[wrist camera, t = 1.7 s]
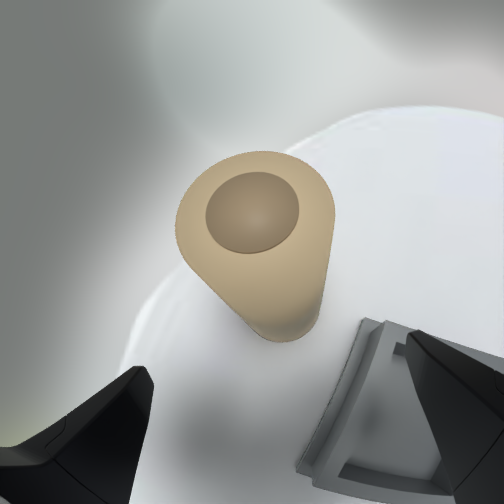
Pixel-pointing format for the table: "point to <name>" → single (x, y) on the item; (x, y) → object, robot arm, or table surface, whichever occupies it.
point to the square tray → (380, 426)
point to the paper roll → (261, 239)
